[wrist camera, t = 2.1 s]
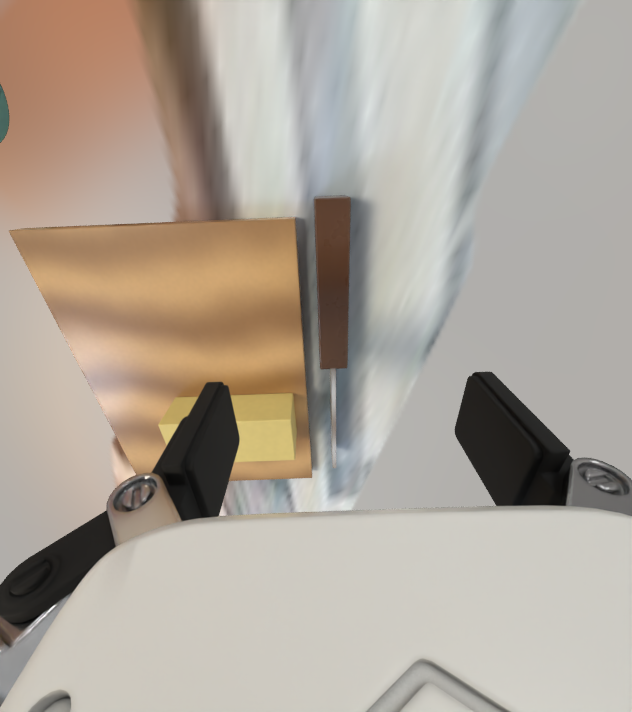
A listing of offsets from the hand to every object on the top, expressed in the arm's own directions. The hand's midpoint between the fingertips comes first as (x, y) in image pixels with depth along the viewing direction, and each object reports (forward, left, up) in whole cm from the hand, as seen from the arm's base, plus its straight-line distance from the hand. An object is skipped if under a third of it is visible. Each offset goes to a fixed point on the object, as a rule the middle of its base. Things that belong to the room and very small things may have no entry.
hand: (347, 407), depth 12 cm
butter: (+8, -6, -9) cm, 13 cm away
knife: (+3, 0, -10) cm, 10 cm away
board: (+5, -10, -10) cm, 15 cm away
